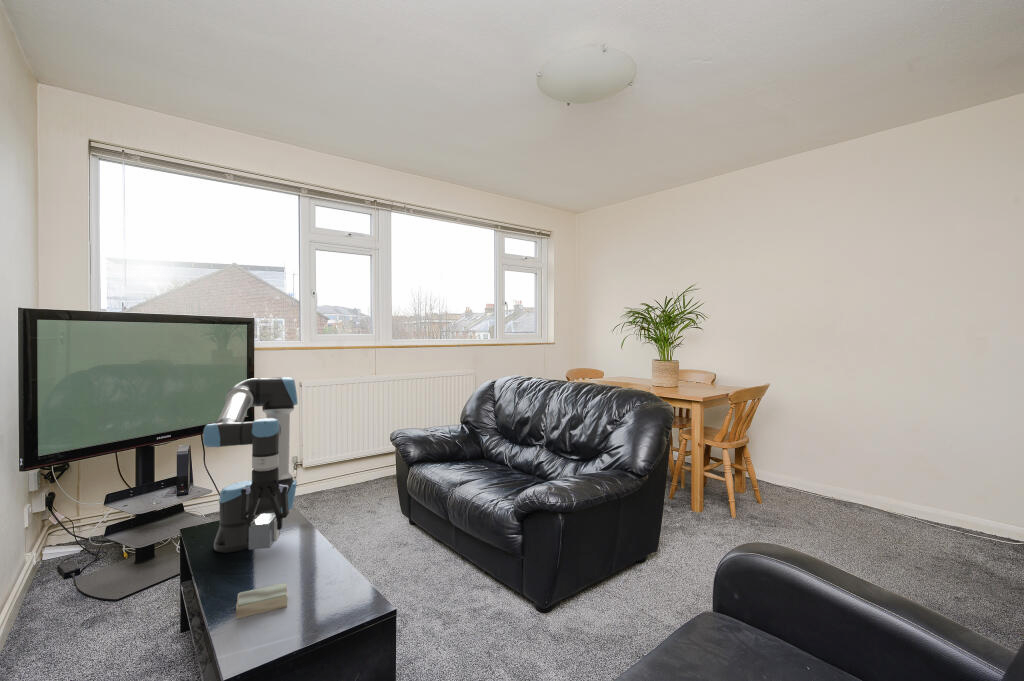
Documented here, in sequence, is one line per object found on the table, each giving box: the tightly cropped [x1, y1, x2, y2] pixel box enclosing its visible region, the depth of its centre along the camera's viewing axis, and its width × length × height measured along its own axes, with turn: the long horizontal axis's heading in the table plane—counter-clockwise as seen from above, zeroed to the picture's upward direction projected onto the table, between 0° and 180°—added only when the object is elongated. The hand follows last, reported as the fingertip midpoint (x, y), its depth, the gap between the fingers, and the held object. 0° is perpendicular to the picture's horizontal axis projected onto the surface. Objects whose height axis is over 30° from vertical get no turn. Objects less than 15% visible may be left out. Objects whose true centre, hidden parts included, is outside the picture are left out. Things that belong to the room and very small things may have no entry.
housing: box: [248, 513, 281, 550], centre depth 145 cm, size 10×6×7 cm, turn 10°
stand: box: [235, 582, 288, 619], centre depth 136 cm, size 8×13×4 cm, turn 118°
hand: (265, 540), depth 145 cm, fingers closed on housing, 6 cm apart
